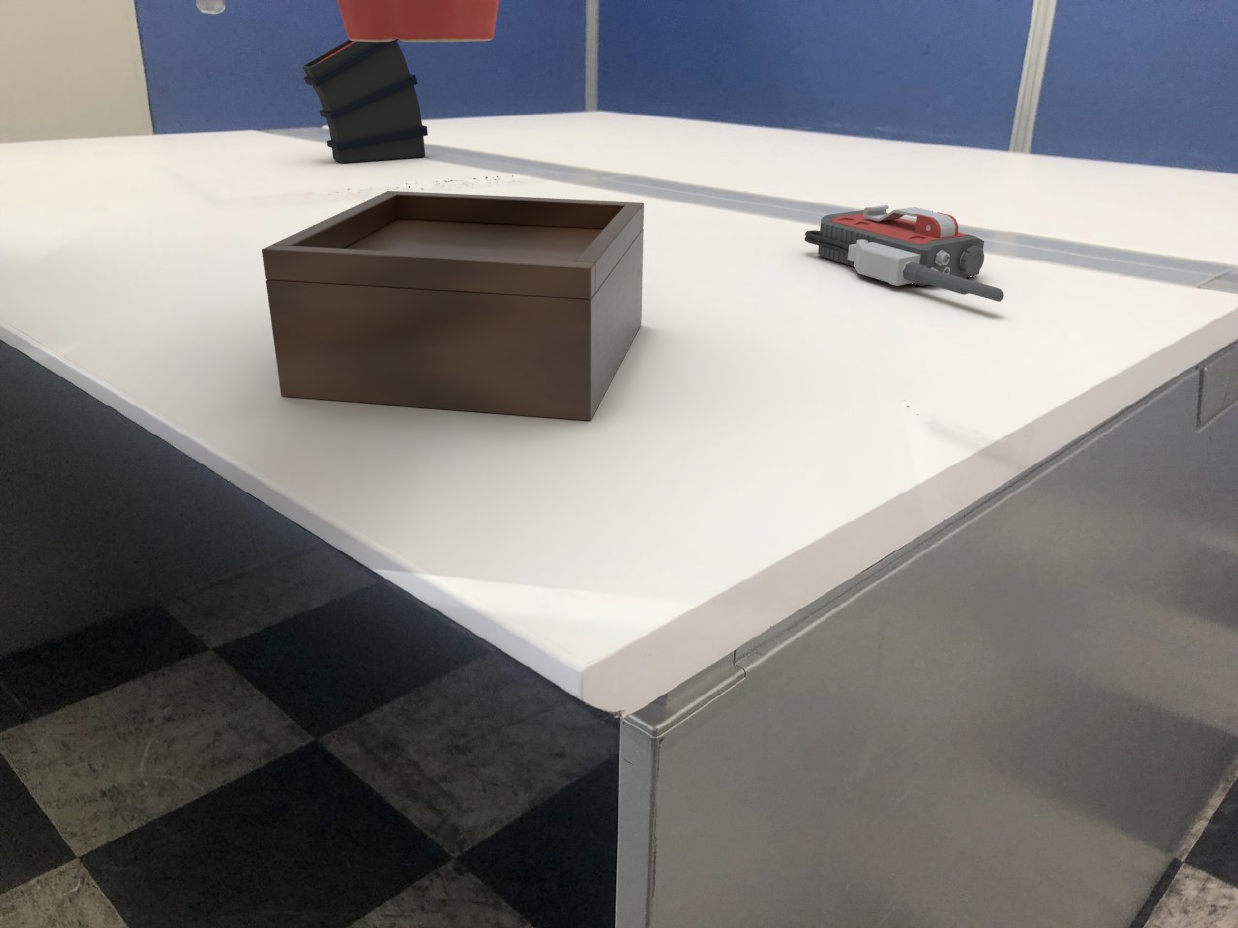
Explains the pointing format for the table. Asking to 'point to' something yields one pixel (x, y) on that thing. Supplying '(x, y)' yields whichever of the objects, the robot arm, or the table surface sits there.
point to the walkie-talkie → (905, 248)
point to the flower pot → (419, 20)
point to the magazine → (368, 102)
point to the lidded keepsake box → (459, 302)
